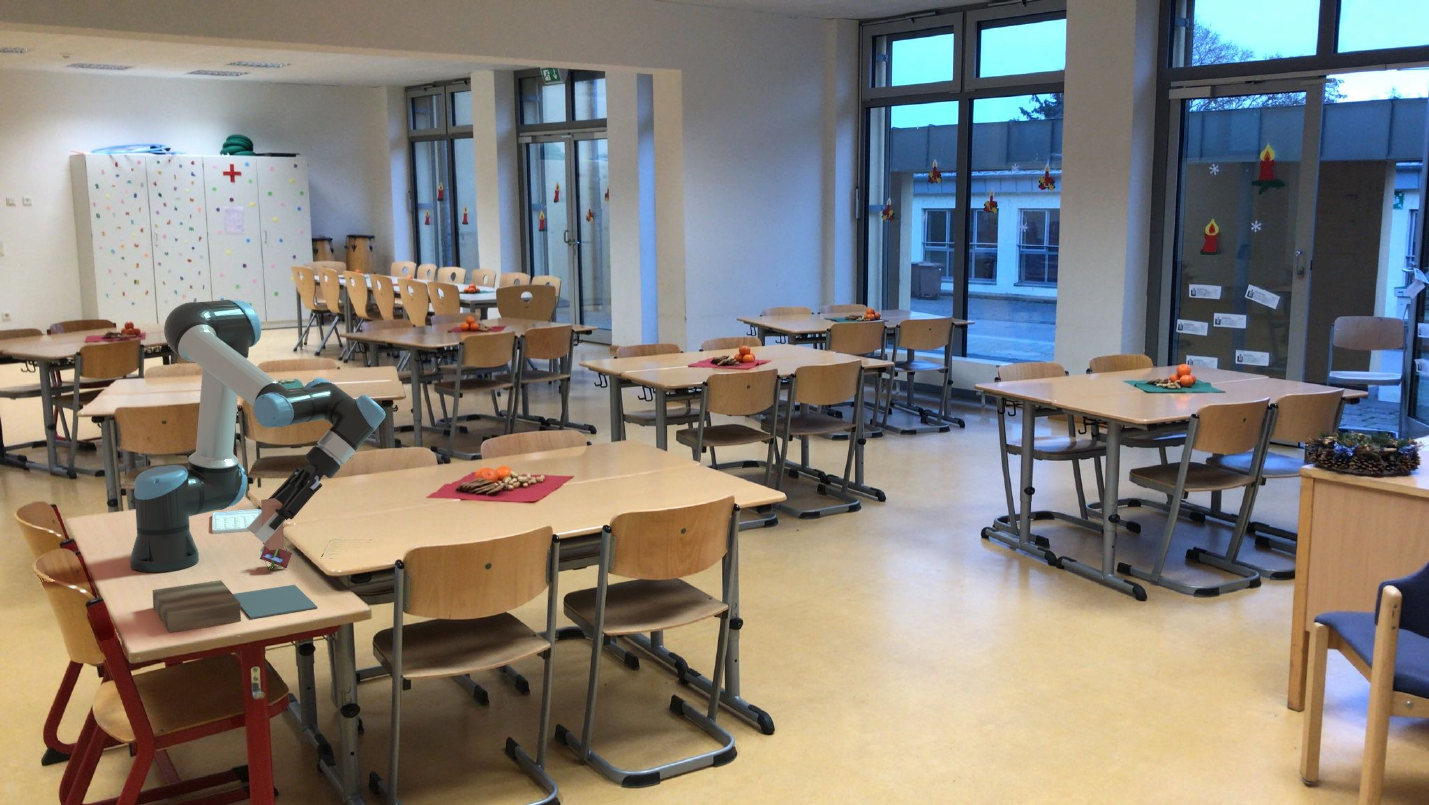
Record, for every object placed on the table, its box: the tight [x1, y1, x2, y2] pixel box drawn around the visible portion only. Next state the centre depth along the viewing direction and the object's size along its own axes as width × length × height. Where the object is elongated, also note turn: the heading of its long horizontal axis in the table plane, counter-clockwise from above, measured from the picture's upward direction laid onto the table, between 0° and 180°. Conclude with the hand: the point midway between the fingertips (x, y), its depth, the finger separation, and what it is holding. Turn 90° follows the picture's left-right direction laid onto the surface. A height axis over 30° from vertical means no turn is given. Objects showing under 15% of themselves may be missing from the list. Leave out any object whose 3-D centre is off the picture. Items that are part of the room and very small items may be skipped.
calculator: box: [211, 508, 262, 534], centre depth 324 cm, size 13×20×2 cm, turn 23°
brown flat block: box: [152, 579, 242, 633], centre depth 250 cm, size 18×14×4 cm
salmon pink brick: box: [260, 498, 285, 550], centre depth 257 cm, size 6×3×10 cm, turn 35°
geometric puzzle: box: [259, 543, 293, 572], centre depth 284 cm, size 7×7×8 cm
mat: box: [232, 584, 318, 620], centre depth 260 cm, size 18×14×1 cm
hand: (255, 535), depth 255 cm, fingers closed on salmon pink brick, 6 cm apart
